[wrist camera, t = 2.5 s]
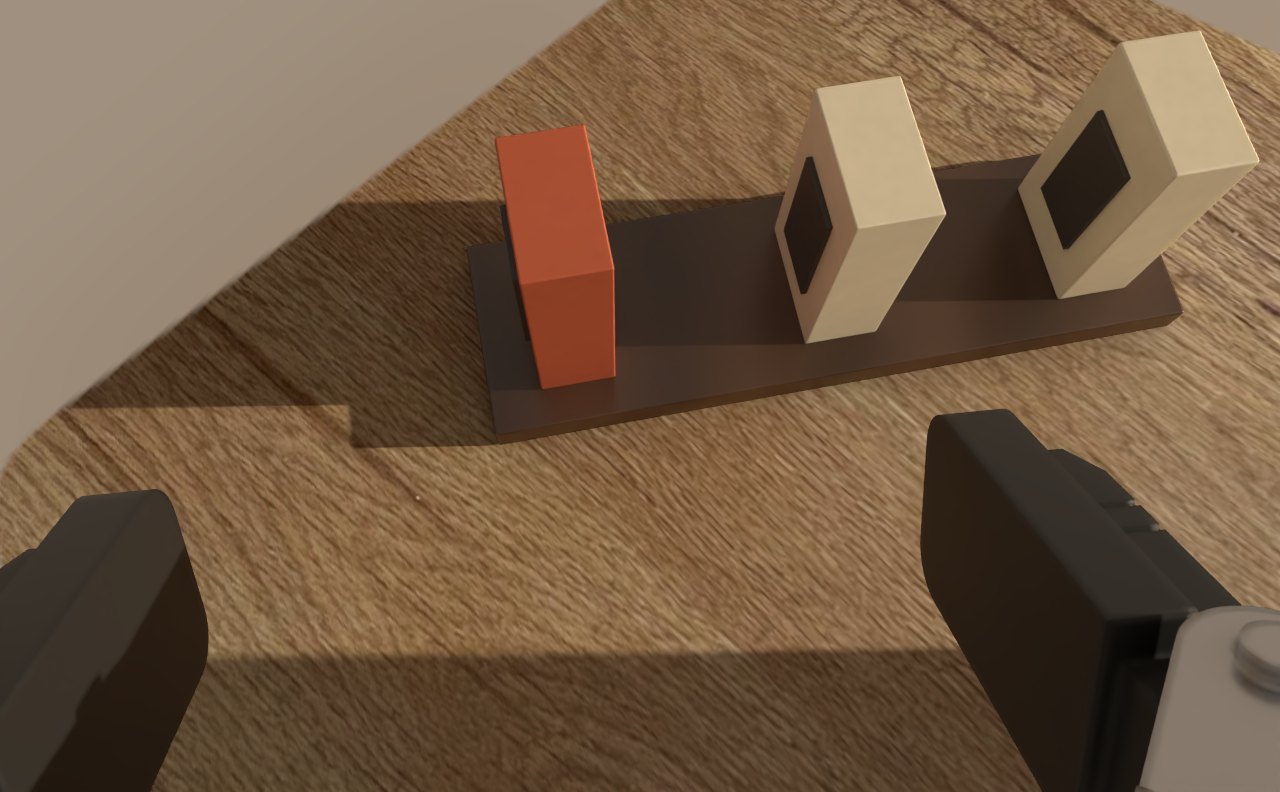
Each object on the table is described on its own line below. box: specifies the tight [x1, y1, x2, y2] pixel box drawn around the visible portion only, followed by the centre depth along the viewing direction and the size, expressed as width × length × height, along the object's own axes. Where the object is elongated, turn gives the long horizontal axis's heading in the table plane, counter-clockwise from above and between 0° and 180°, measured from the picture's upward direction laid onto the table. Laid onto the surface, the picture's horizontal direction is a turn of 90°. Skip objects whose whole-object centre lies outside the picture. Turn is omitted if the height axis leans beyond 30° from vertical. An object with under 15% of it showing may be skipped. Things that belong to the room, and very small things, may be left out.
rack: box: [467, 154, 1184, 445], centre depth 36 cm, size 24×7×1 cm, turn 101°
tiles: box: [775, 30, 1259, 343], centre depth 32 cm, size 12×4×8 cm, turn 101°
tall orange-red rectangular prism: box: [495, 125, 615, 389], centre depth 31 cm, size 3×4×8 cm, turn 11°
